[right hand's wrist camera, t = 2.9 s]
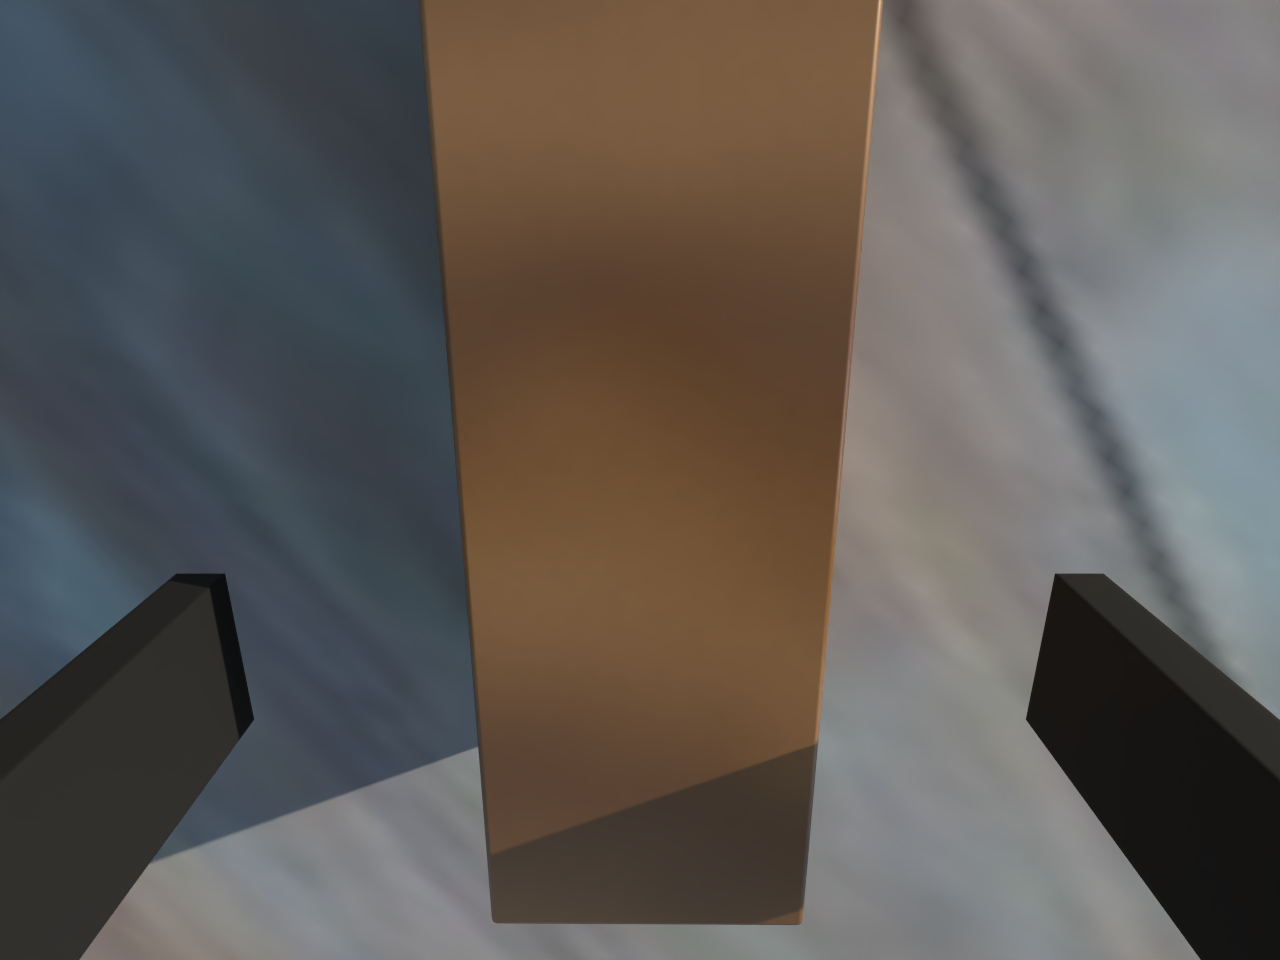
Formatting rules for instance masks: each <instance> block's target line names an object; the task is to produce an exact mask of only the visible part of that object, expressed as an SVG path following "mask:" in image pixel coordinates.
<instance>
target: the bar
mask: <svg viewBox="0 0 1280 960" xmlns="http://www.w3.org/2000/svg"><path fill="white" fill-rule="evenodd" d="M882 7H883V0H419V8H420V21H421V33H422V46H423V58H424V71H425V83H426V96H427V109H428V121H429V134H430V146H431V159H432V171H433V184H434V196H435V209H436V222H437V234H438V247H439V259H440V272H441V284H442V297H443V309H444V322H445V335H446V347H447V360H448V372H449V385H450V397H451V410H452V422H453V435H454V448H455V460H456V473H457V485H458V498H459V510H460V523H461V536H462V548H463V561H464V573H465V586H466V598H467V611H468V623H469V636H470V649H471V661H472V674H473V686H474V699H475V711H476V724H477V736H478V749H479V762H480V774H481V787H482V799H483V812H484V824H485V837H486V849H487V862H488V875H489V887H490V900H491V912H492V919H493V921H494V922H495V923H542V924H726V925H798V924H801V922H802V919H803V908H804V897H805V885H806V874H807V863H808V851H809V840H810V828H811V817H812V806H813V794H814V783H815V771H816V760H817V748H818V737H819V726H820V714H821V703H822V691H823V680H824V669H825V657H826V646H827V634H828V623H829V611H830V600H831V589H832V577H833V566H834V554H835V543H836V532H837V520H838V509H839V497H840V486H841V475H842V463H843V452H844V440H845V429H846V417H847V406H848V395H849V383H850V372H851V360H852V349H853V338H854V326H855V315H856V303H857V292H858V281H859V269H860V258H861V246H862V235H863V223H864V212H865V201H866V189H867V178H868V166H869V155H870V144H871V132H872V121H873V109H874V98H875V87H876V75H877V64H878V52H879V41H880V29H881V18H882Z"/></svg>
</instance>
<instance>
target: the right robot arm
mask: <svg viewBox="0 0 1280 960" xmlns="http://www.w3.org/2000/svg"><path fill="white" fill-rule="evenodd" d="M253 720H254V717H253V712H252V707H251V702H250V697H249V692H248V687H247V682H246V677H245V672H244V667H243V662H242V657H241V652H240V647H239V642H238V637H237V632H236V627H235V622H234V617H233V612H232V607H231V602H230V597H229V592H228V587H227V582H226V577H225V574H176V575H174V576H173V577H172V578H171V579H169V580H168V581H167V582H166V583H165V584H163V585H162V586H161V587H160V588H159V589H157V590H156V591H155V592H154V593H153V594H151V595H150V596H149V597H148V598H147V599H145V600H144V601H143V602H142V603H141V604H139V605H138V606H137V607H136V608H135V609H133V610H132V611H131V612H130V613H129V614H127V615H126V616H125V617H124V618H122V619H121V620H120V621H119V622H118V623H116V624H115V625H114V626H113V627H112V628H110V629H109V630H108V631H107V632H106V633H104V634H103V635H102V636H101V637H100V638H98V639H97V640H96V641H95V642H94V643H92V644H91V645H90V646H89V647H88V648H86V649H85V650H84V651H83V652H81V653H80V654H79V655H78V656H77V657H75V658H74V659H73V660H72V661H71V662H69V663H68V664H67V665H66V666H65V667H63V668H62V669H61V670H60V671H59V672H57V673H56V674H55V675H54V676H53V677H51V678H50V679H49V680H48V681H47V682H45V683H44V684H43V685H42V686H40V687H39V688H38V689H37V690H36V691H34V692H33V693H32V694H31V695H30V696H28V697H27V698H26V699H25V700H24V701H22V702H21V703H20V704H19V705H18V706H16V707H15V708H14V709H13V710H12V711H10V712H9V713H8V714H7V715H6V716H4V717H3V718H2V719H1V720H0V960H79V959H80V958H81V956H82V955H83V954H84V952H85V951H86V950H87V948H88V947H89V945H90V944H91V943H92V941H93V940H94V939H95V937H96V936H97V934H98V933H99V932H100V930H101V929H102V928H103V926H104V925H105V923H106V922H107V921H108V919H109V918H110V917H111V915H112V914H113V912H114V911H115V910H116V908H117V907H118V906H119V904H120V903H121V901H122V900H123V899H124V897H125V896H126V895H127V893H128V892H129V890H130V889H131V888H132V886H133V885H134V884H135V882H136V881H137V879H138V878H139V877H140V875H141V874H142V873H143V871H144V870H145V868H146V867H147V866H148V864H149V863H150V862H151V860H152V859H153V858H154V856H155V855H156V853H157V852H158V851H159V849H160V848H161V847H162V845H163V844H164V842H165V841H166V840H167V838H168V837H169V836H170V834H171V833H172V831H173V830H174V829H175V827H176V826H177V825H178V823H179V822H180V820H181V819H182V818H183V816H184V815H185V814H186V812H187V811H188V809H189V808H190V807H191V805H192V804H193V803H194V801H195V800H196V798H197V797H198V796H199V794H200V793H201V792H202V790H203V789H204V787H205V786H206V785H207V783H208V782H209V781H210V779H211V778H212V776H213V775H214V774H215V772H216V771H217V770H218V768H219V767H220V765H221V764H222V763H223V761H224V760H225V759H226V757H227V756H228V754H229V753H230V752H231V750H232V749H233V748H234V746H235V745H236V743H237V742H238V741H239V739H240V738H241V737H242V735H243V734H244V733H245V731H246V730H247V728H248V727H249V726H250V724H251V723H252V722H253ZM1026 720H1027V722H1028V723H1029V724H1030V726H1031V727H1032V728H1033V730H1034V731H1035V733H1036V734H1037V735H1038V737H1039V738H1040V739H1041V741H1042V742H1043V743H1044V745H1045V746H1046V748H1047V749H1048V750H1049V752H1050V753H1051V754H1052V756H1053V757H1054V759H1055V760H1056V761H1057V763H1058V764H1059V765H1060V767H1061V768H1062V770H1063V771H1064V772H1065V774H1066V775H1067V776H1068V778H1069V779H1070V781H1071V782H1072V783H1073V785H1074V786H1075V787H1076V789H1077V790H1078V792H1079V793H1080V794H1081V796H1082V797H1083V798H1084V800H1085V801H1086V803H1087V804H1088V805H1089V807H1090V808H1091V809H1092V811H1093V812H1094V814H1095V815H1096V816H1097V818H1098V819H1099V820H1100V822H1101V823H1102V825H1103V826H1104V827H1105V829H1106V830H1107V831H1108V833H1109V834H1110V836H1111V837H1112V838H1113V840H1114V841H1115V842H1116V844H1117V845H1118V847H1119V848H1120V849H1121V851H1122V852H1123V853H1124V855H1125V856H1126V858H1127V859H1128V860H1129V862H1130V863H1131V864H1132V866H1133V867H1134V868H1135V870H1136V871H1137V873H1138V874H1139V875H1140V877H1141V878H1142V879H1143V881H1144V882H1145V884H1146V885H1147V886H1148V888H1149V889H1150V890H1151V892H1152V893H1153V895H1154V896H1155V897H1156V899H1157V900H1158V901H1159V903H1160V904H1161V906H1162V907H1163V908H1164V910H1165V911H1166V912H1167V914H1168V915H1169V917H1170V918H1171V919H1172V921H1173V922H1174V923H1175V925H1176V926H1177V928H1178V929H1179V930H1180V932H1181V933H1182V934H1183V936H1184V937H1185V939H1186V940H1187V941H1188V943H1189V944H1190V945H1191V947H1192V948H1193V950H1194V951H1195V952H1196V954H1197V955H1198V956H1199V958H1200V959H1201V960H1280V720H1279V719H1278V718H1277V717H1276V716H1274V715H1273V714H1272V713H1271V712H1270V711H1268V710H1267V709H1266V708H1265V707H1264V706H1262V705H1261V704H1260V703H1259V702H1258V701H1256V700H1255V699H1254V698H1253V697H1252V696H1250V695H1249V694H1248V693H1247V692H1246V691H1244V690H1243V689H1242V688H1241V687H1240V686H1238V685H1237V684H1236V683H1235V682H1233V681H1232V680H1231V679H1230V678H1229V677H1227V676H1226V675H1225V674H1224V673H1223V672H1221V671H1220V670H1219V669H1218V668H1217V667H1215V666H1214V665H1213V664H1212V663H1211V662H1209V661H1208V660H1207V659H1206V658H1205V657H1203V656H1202V655H1201V654H1200V653H1199V652H1197V651H1196V650H1195V649H1194V648H1192V647H1191V646H1190V645H1189V644H1188V643H1186V642H1185V641H1184V640H1183V639H1182V638H1180V637H1179V636H1178V635H1177V634H1176V633H1174V632H1173V631H1172V630H1171V629H1170V628H1168V627H1167V626H1166V625H1165V624H1164V623H1162V622H1161V621H1160V620H1159V619H1158V618H1156V617H1155V616H1154V615H1153V614H1151V613H1150V612H1149V611H1148V610H1147V609H1145V608H1144V607H1143V606H1142V605H1141V604H1139V603H1138V602H1137V601H1136V600H1135V599H1133V598H1132V597H1131V596H1130V595H1129V594H1127V593H1126V592H1125V591H1124V590H1123V589H1121V588H1120V587H1119V586H1118V585H1117V584H1115V583H1114V582H1113V581H1112V580H1110V579H1109V578H1108V577H1107V576H1106V575H1104V574H1055V577H1054V582H1053V587H1052V592H1051V597H1050V602H1049V607H1048V612H1047V617H1046V622H1045V627H1044V632H1043V637H1042V642H1041V647H1040V652H1039V657H1038V662H1037V667H1036V672H1035V677H1034V682H1033V687H1032V692H1031V697H1030V702H1029V707H1028V712H1027V717H1026Z"/></svg>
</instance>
